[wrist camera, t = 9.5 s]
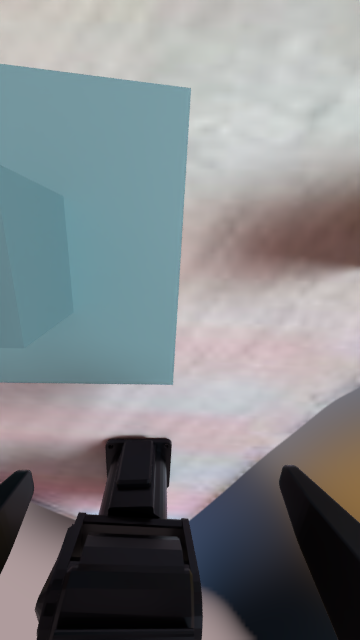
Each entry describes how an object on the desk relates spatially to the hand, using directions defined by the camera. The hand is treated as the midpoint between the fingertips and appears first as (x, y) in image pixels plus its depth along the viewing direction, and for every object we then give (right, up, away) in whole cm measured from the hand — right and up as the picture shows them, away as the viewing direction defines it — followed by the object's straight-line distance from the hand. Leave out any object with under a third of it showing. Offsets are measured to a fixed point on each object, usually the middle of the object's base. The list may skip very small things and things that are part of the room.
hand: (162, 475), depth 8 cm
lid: (-6, +9, +3) cm, 11 cm away
